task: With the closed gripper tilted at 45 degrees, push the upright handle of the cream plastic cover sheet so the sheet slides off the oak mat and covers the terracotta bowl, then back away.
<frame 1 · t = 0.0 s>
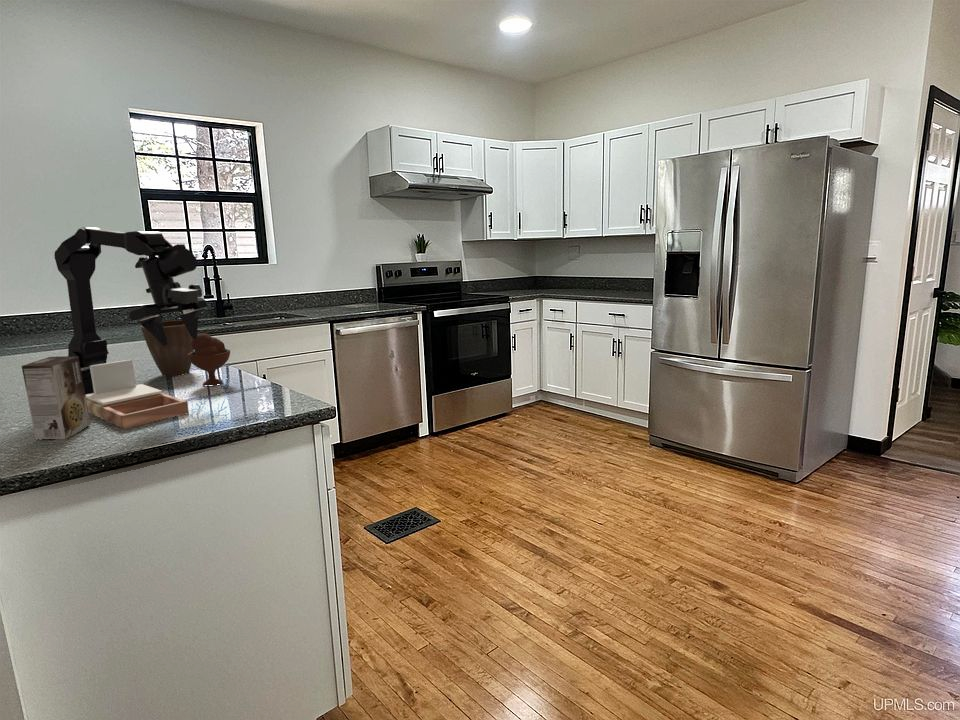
hand: (180, 342, 142), 15 cm above the countertop, tool pointing down, fingers open, 9 cm apart
plant pot: (175, 374, 177), on the countertop
cover sheet: (121, 380, 139), point 7 cm above the countertop, slide at 0.0 cm
coffee box: (64, 433, 122), on the countertop
ice cream bowl: (212, 385, 163), on the countertop
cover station: (136, 412, 137), on the countertop
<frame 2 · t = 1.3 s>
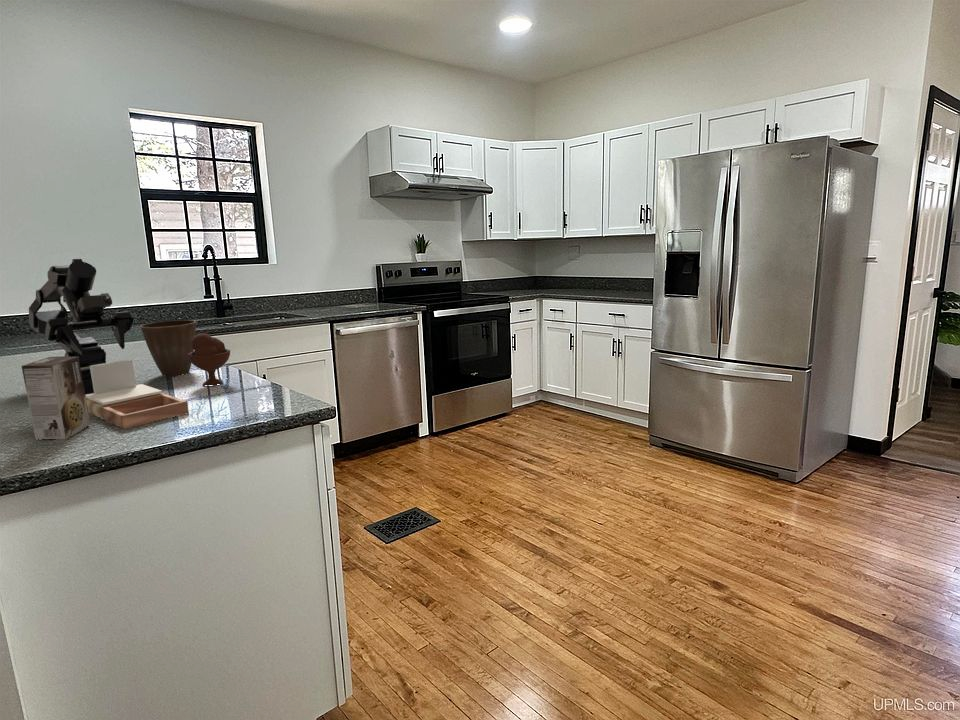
hand: (103, 350, 143), 13 cm above the countertop, tool tilted 45°, fingers open, 9 cm apart
nothing on the countertop moved.
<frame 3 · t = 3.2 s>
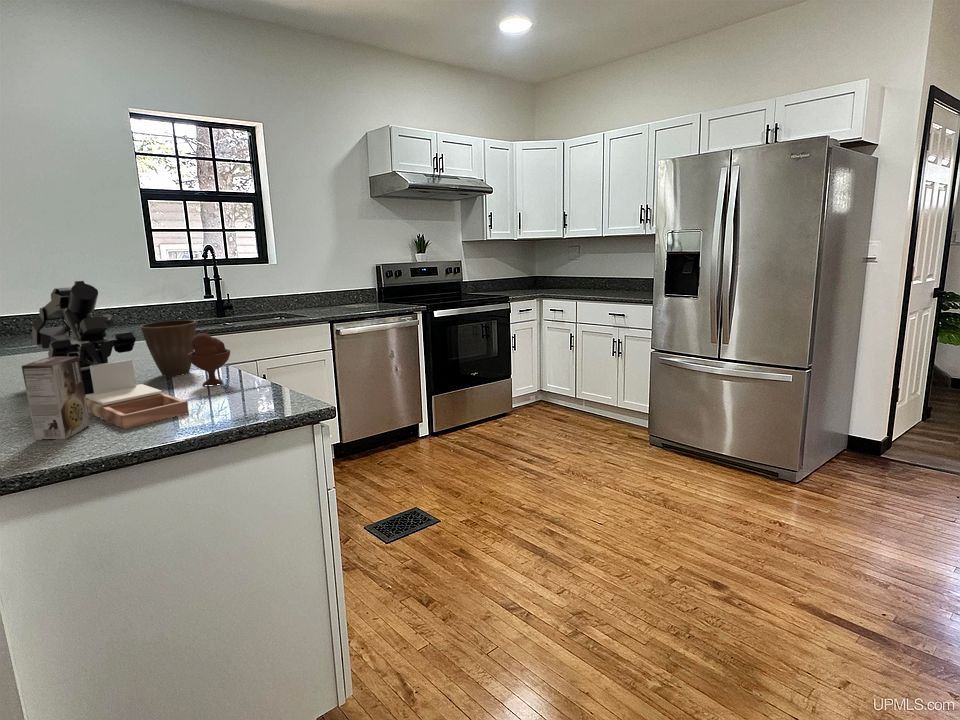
hand: (105, 371, 145), 8 cm above the countertop, tool tilted 45°, fingers closed
nothing on the countertop moved.
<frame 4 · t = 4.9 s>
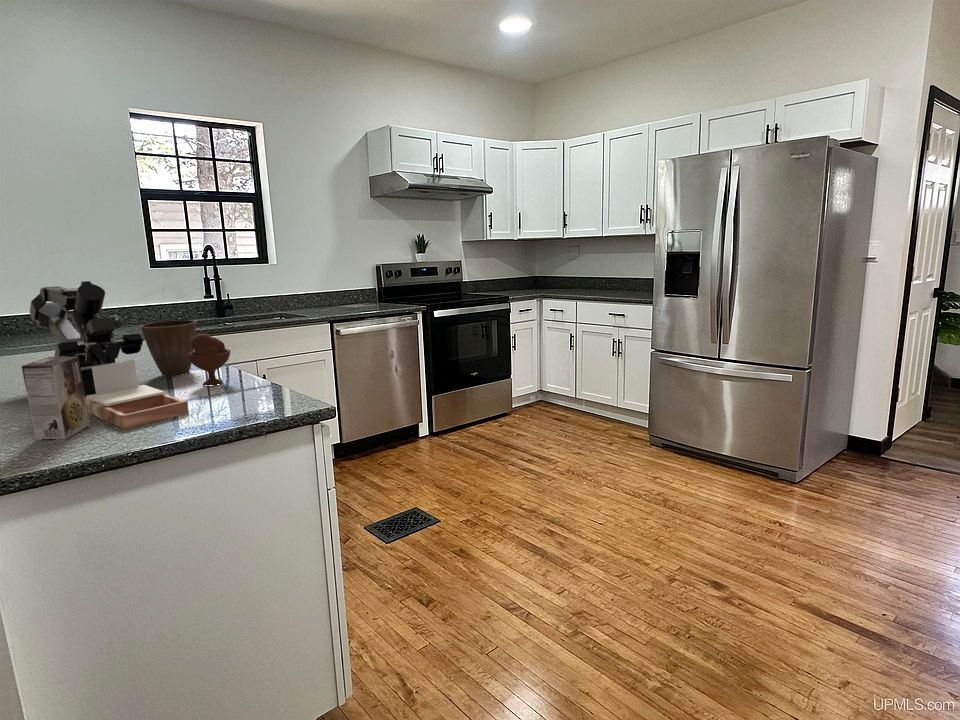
hand: (113, 373, 141), 8 cm above the countertop, tool tilted 45°, fingers closed, pressing on cover sheet
cover sheet: (123, 381, 138), point 7 cm above the countertop, slide at 1.4 cm, touching gripper
everything else where it was.
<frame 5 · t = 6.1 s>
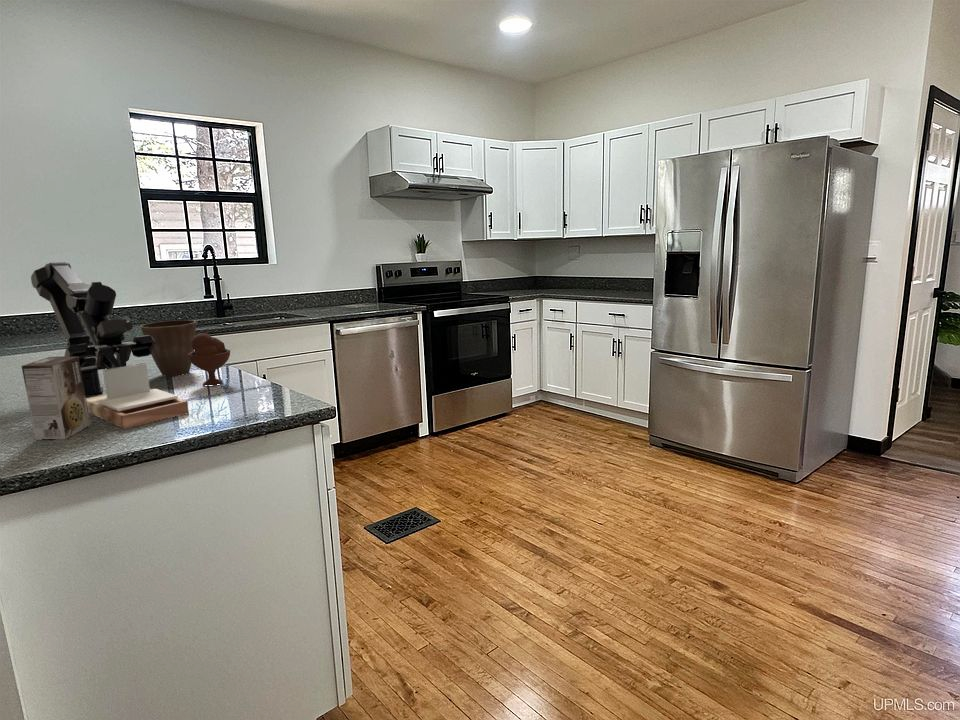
hand: (124, 377, 137), 8 cm above the countertop, tool tilted 45°, fingers closed, pressing on cover sheet
cover sheet: (135, 385, 134), point 7 cm above the countertop, slide at 8.3 cm, touching gripper
everything else where it was.
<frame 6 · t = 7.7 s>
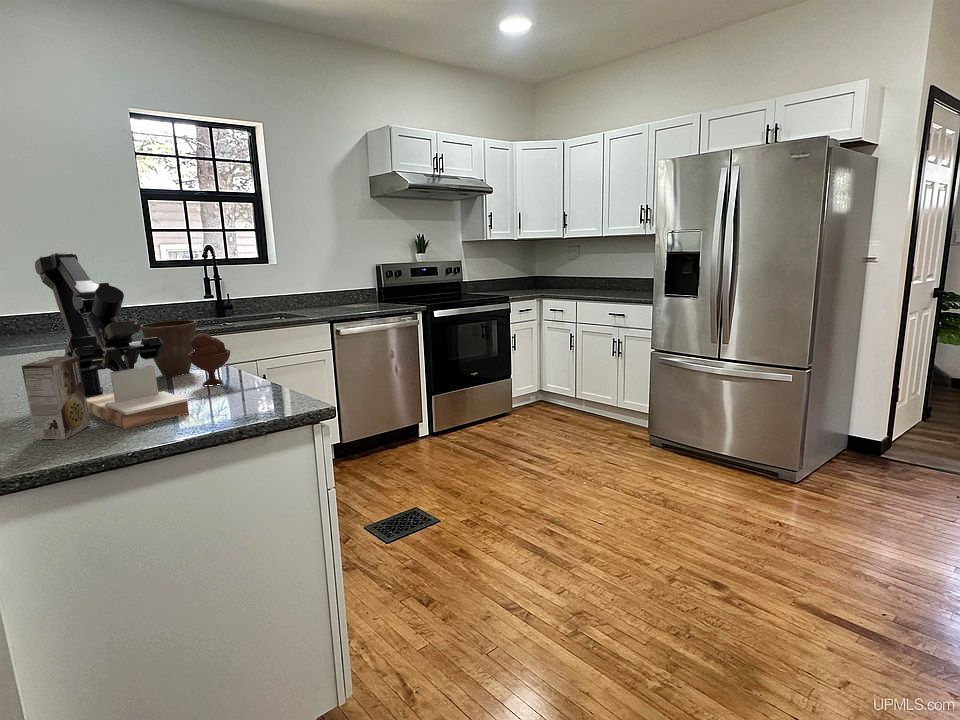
hand: (132, 380, 134), 8 cm above the countertop, tool tilted 45°, fingers closed, pressing on cover sheet
cover sheet: (144, 387, 131), point 7 cm above the countertop, slide at 12.9 cm, touching gripper
everything else where it was.
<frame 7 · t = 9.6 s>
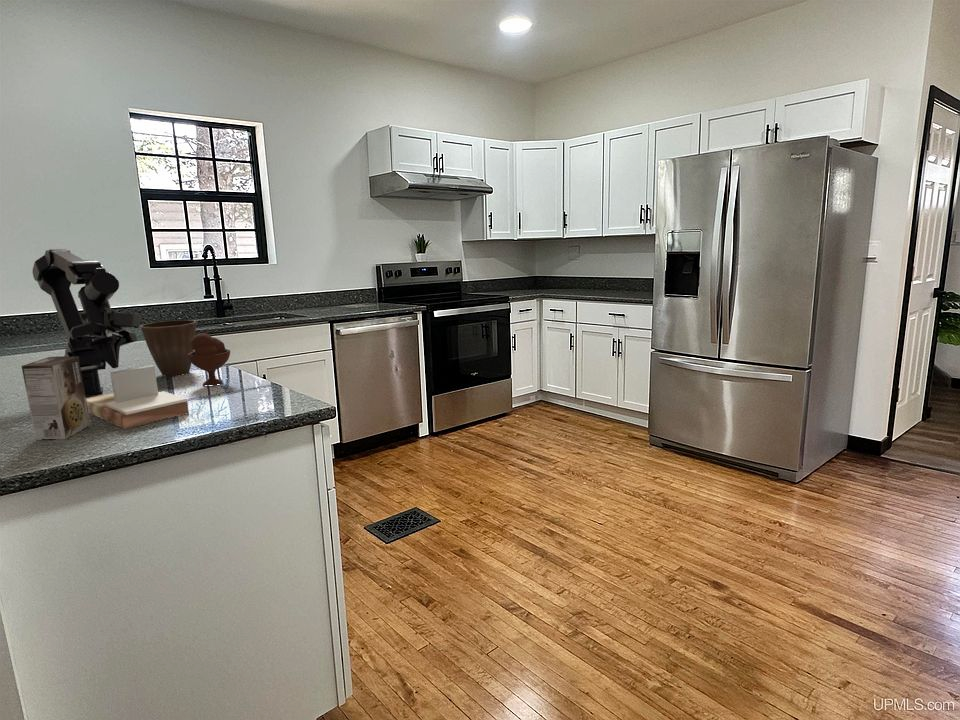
hand: (115, 367, 140), 10 cm above the countertop, tool tilted 25°, fingers closed
cover sheet: (144, 387, 131), point 7 cm above the countertop, slide at 12.9 cm
everything else where it was.
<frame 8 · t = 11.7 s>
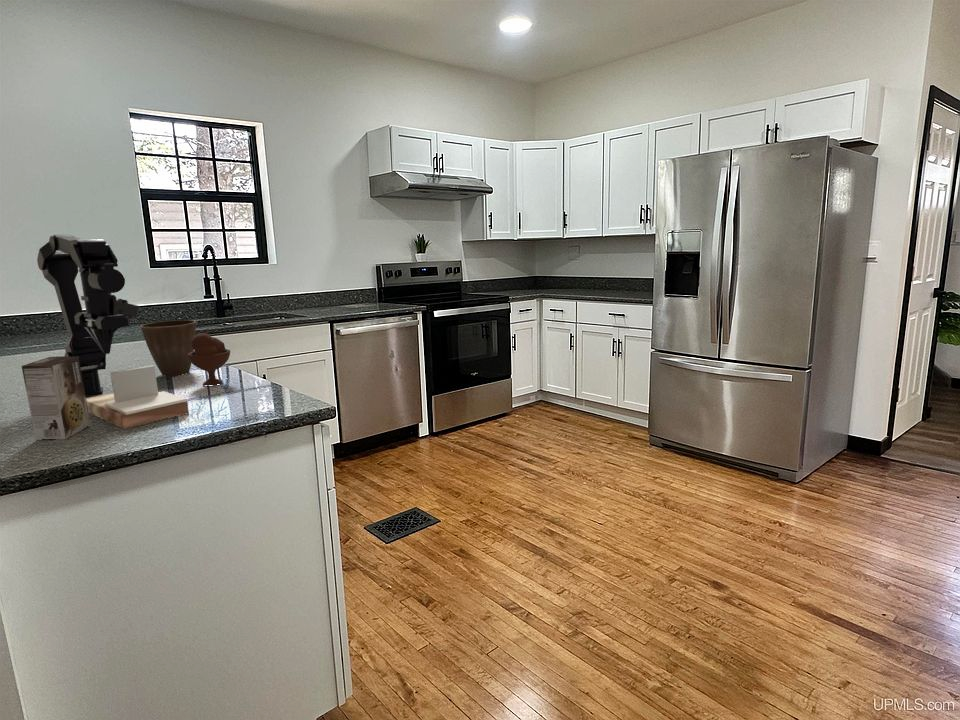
hand: (106, 353, 142), 13 cm above the countertop, tool pointing down, fingers closed
nothing on the countertop moved.
at the end: cover sheet slide at 12.9 cm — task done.
